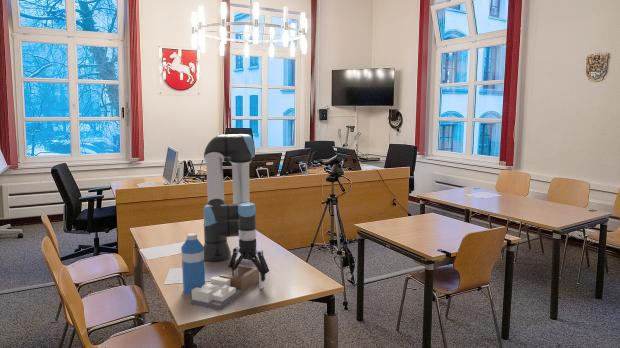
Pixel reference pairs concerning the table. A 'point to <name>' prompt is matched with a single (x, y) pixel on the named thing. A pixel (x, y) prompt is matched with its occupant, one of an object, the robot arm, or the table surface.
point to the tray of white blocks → (215, 294)
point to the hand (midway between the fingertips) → (248, 285)
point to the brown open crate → (243, 277)
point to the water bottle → (192, 263)
